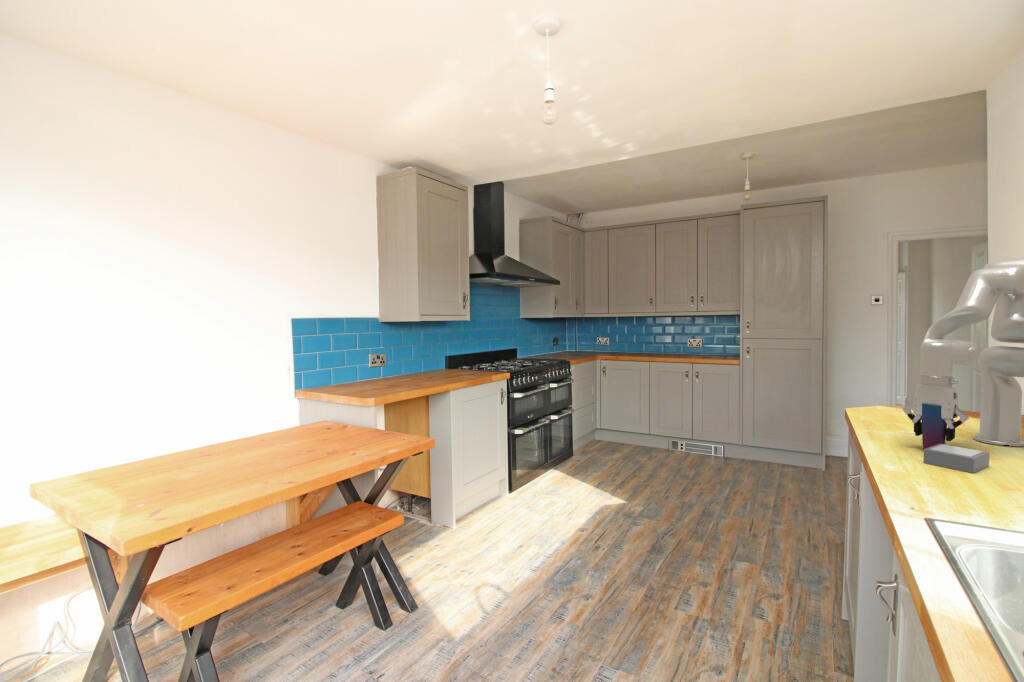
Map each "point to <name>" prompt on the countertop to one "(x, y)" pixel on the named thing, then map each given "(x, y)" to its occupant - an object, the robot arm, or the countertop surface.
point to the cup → (932, 426)
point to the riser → (956, 458)
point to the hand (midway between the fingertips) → (933, 437)
